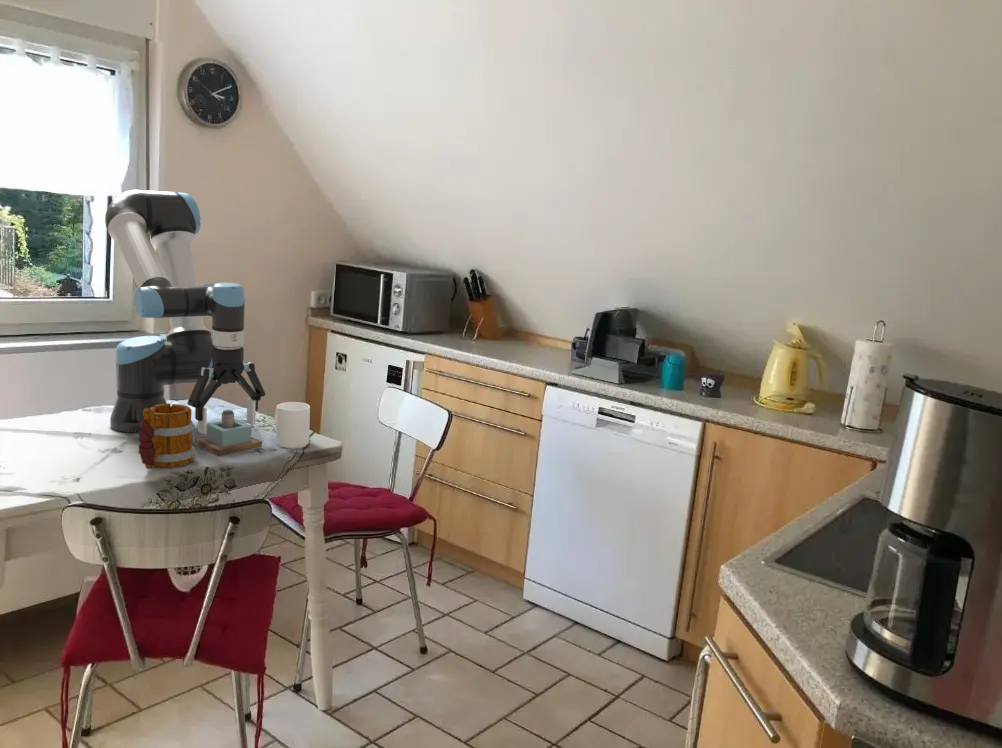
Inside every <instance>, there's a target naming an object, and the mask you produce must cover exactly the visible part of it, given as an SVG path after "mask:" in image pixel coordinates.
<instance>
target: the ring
mask: <svg viewBox="0 0 1002 748" xmlns="http://www.w3.org/2000/svg"><path fill="white" fill-rule="evenodd" d="M205 436H206V439H207V440H209V441H211V442H213V443H215V444H217V445H220V446H222V447H225V446H230V445H235V444H240V443H245V442H250V441H251V437H252V425H251V424H248V423H245V422H243V421H240V420H238V419H236V418H234V427H233V428H227V429H224V428H222V420H221V421H214V422H207V434H205Z"/></svg>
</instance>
